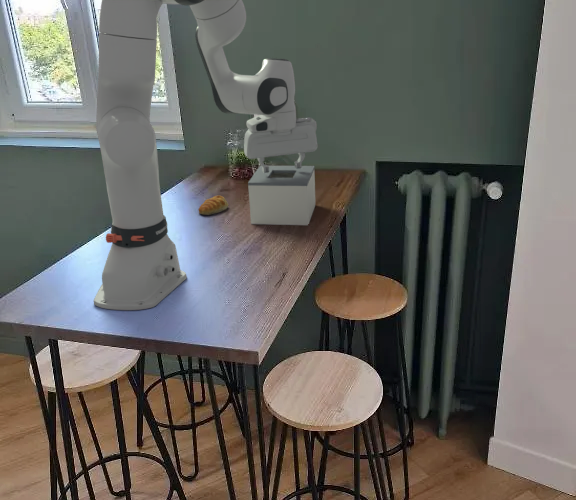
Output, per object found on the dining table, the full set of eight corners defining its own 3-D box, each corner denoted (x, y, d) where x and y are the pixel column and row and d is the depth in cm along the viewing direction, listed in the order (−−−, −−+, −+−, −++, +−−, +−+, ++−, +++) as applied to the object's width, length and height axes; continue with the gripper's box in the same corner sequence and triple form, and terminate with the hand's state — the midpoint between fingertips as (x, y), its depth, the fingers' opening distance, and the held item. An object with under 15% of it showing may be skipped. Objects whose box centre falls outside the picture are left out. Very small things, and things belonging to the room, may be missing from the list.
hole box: (308, 225, 164) (307, 183, 159) (251, 224, 167) (248, 182, 162) (315, 205, 178) (314, 165, 174) (262, 204, 181) (260, 165, 176)
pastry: (211, 218, 173) (209, 205, 171) (192, 214, 176) (191, 202, 175) (230, 208, 180) (229, 195, 178) (212, 204, 183) (211, 193, 182)
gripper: (312, 114, 167) (313, 162, 173) (240, 122, 162) (244, 171, 167) (320, 118, 161) (321, 168, 167) (246, 126, 156) (249, 177, 162)
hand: (282, 170), depth 167 cm, fingers open, 8 cm apart
